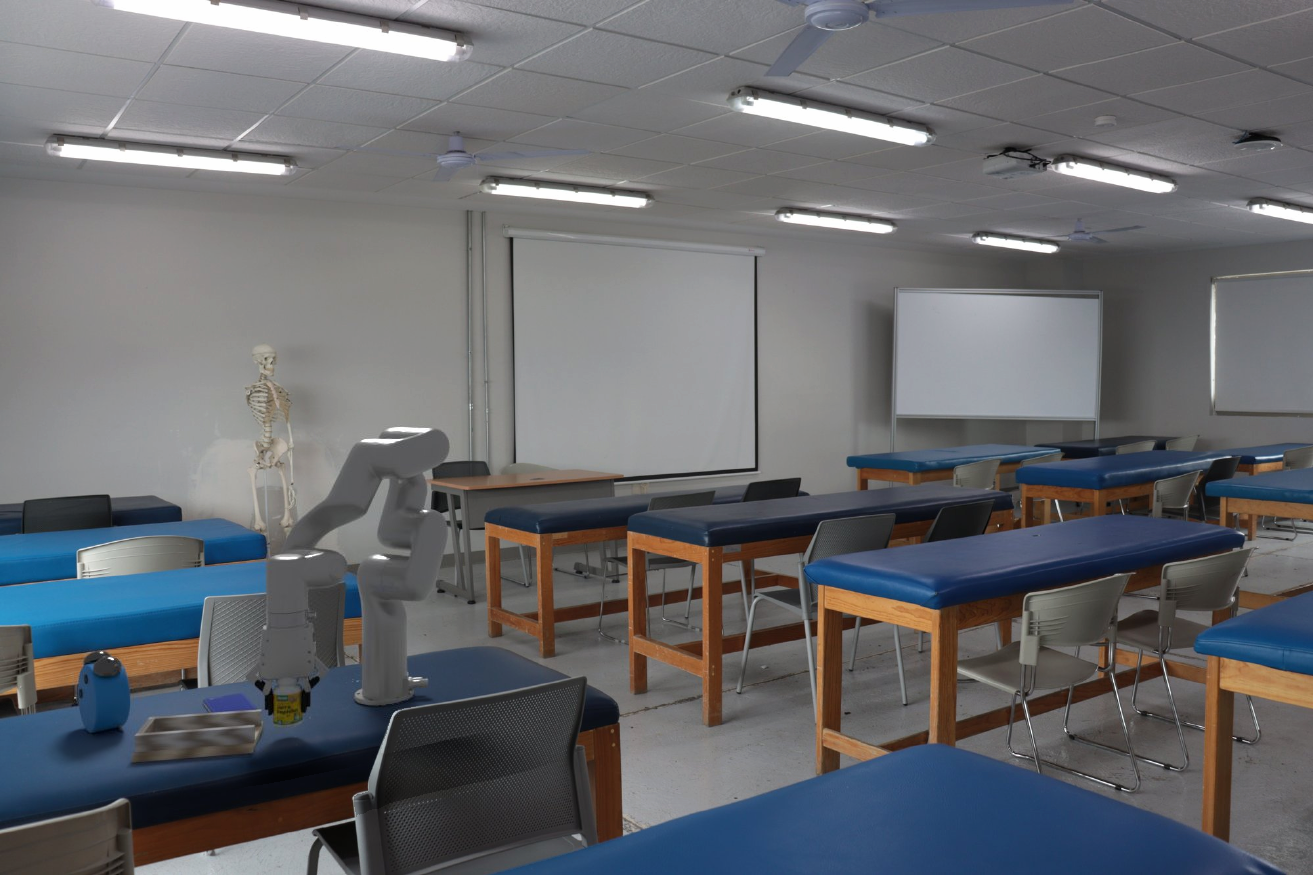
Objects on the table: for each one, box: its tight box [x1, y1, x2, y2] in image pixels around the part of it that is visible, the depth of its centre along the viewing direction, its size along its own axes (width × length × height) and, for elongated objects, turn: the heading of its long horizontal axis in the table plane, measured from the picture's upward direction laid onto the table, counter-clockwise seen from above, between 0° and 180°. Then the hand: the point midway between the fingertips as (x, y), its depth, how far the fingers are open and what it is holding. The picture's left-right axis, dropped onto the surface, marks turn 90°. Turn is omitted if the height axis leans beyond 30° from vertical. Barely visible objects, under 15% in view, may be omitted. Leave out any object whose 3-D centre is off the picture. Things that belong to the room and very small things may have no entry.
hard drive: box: [202, 692, 259, 713], centre depth 198 cm, size 2×8×12 cm
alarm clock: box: [77, 649, 131, 734], centre depth 184 cm, size 13×6×15 cm, turn 45°
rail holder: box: [131, 709, 264, 763], centre depth 177 cm, size 20×14×4 cm
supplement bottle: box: [272, 678, 304, 729], centre depth 181 cm, size 5×5×10 cm
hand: (287, 710), depth 181 cm, fingers closed on supplement bottle, 5 cm apart
